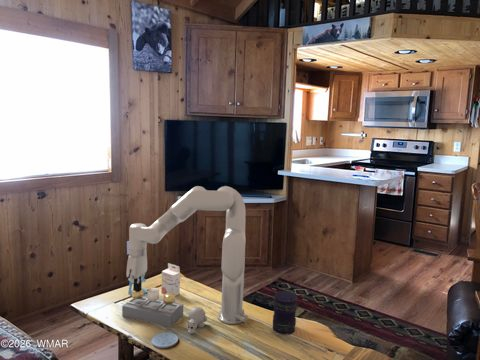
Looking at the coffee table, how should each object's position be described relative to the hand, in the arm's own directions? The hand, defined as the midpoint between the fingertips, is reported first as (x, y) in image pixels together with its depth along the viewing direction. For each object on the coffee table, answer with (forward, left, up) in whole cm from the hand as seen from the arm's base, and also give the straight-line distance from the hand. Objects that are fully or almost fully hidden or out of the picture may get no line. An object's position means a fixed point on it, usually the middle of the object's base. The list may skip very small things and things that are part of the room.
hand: (137, 290), depth 170 cm
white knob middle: (-7, -4, -2) cm, 9 cm away
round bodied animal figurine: (-29, -10, -11) cm, 32 cm away
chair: (+18, -11, -11) cm, 23 cm away
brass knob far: (0, 0, -3) cm, 3 cm away
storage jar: (-54, -39, -11) cm, 68 cm away
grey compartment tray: (-7, -4, -10) cm, 13 cm away
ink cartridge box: (+6, -23, -11) cm, 26 cm away
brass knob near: (-15, -7, -2) cm, 16 cm away
